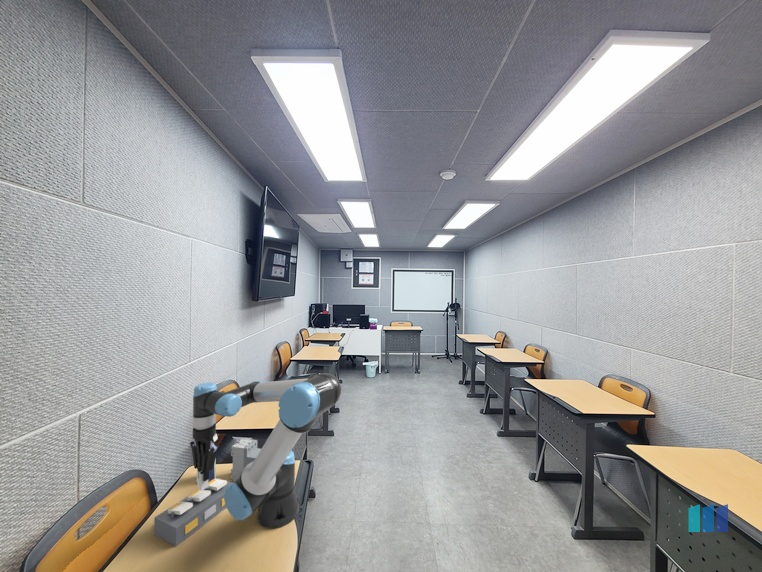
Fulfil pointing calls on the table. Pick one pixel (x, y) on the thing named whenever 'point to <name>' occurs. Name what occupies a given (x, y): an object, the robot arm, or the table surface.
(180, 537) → the panel
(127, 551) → the table surface
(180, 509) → the rocker
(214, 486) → the rocker
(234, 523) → the table surface
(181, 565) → the table surface
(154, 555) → the table surface
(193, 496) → the block
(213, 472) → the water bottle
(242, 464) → the circuit breaker
